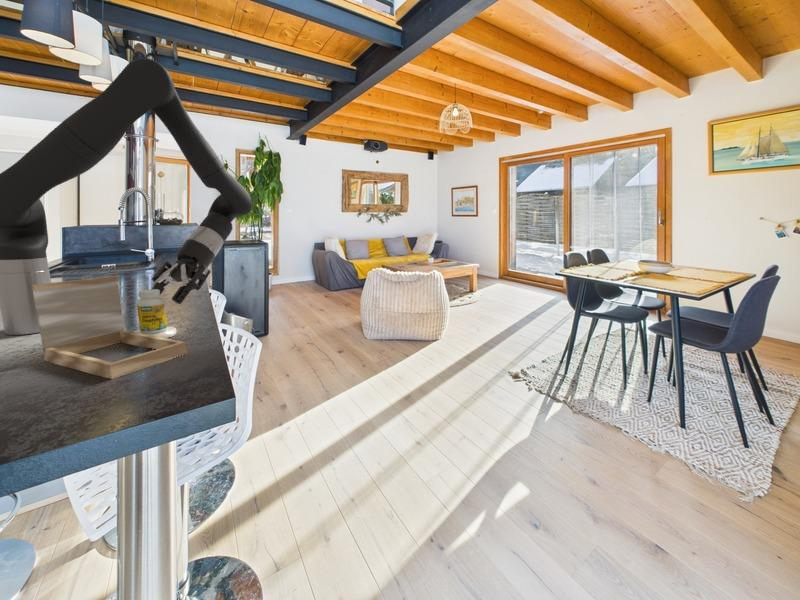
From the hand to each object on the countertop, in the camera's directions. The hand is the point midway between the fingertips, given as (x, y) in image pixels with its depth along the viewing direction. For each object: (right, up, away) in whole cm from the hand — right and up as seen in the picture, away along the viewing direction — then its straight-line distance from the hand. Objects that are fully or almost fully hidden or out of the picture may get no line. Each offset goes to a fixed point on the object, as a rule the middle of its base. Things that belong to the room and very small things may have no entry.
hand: (163, 300), depth 87 cm
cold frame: (0, -11, -14) cm, 18 cm away
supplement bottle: (-2, -7, -1) cm, 8 cm away
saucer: (-2, -8, -1) cm, 9 cm away
